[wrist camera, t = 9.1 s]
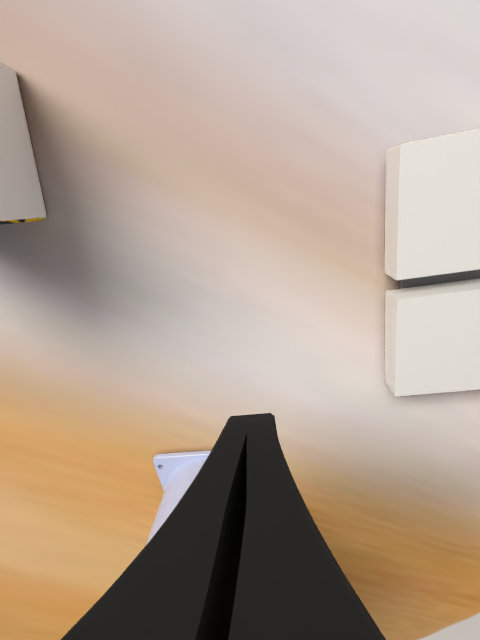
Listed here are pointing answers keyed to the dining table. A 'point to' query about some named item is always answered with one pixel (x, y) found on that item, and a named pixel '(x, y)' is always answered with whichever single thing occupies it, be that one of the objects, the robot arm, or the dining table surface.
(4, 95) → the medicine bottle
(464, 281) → the tile far
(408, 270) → the tile near
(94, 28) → the dining table surface
